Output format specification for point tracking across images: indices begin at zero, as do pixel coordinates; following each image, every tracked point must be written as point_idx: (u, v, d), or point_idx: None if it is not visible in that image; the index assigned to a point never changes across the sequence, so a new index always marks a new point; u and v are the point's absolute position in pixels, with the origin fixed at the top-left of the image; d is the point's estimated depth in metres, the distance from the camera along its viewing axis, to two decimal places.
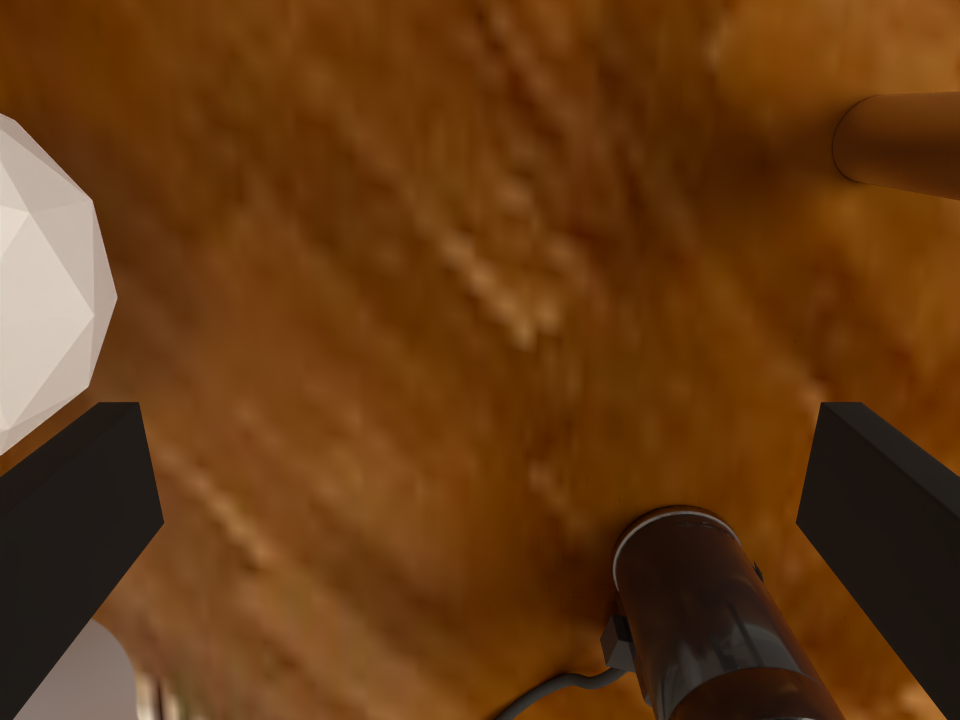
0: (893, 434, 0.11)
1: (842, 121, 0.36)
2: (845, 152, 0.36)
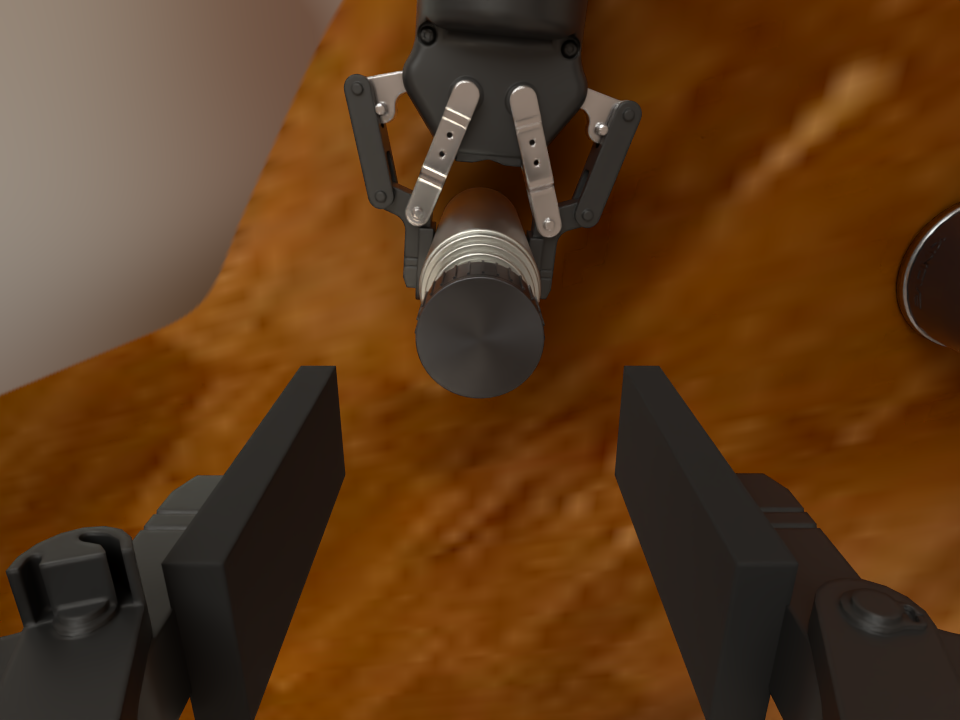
0: (667, 390, 0.13)
1: None
2: None
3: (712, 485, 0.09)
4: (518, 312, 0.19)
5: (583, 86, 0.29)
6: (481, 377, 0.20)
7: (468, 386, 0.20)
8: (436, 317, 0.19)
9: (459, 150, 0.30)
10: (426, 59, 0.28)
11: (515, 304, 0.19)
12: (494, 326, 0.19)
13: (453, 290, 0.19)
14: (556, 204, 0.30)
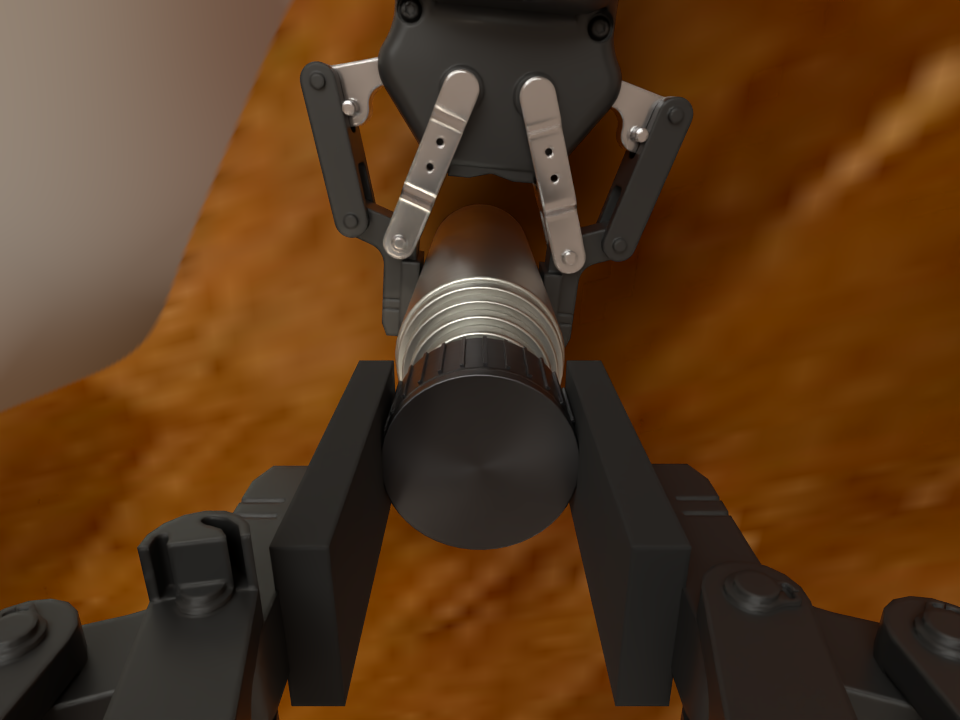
0: (603, 383, 0.13)
1: None
2: None
3: (626, 473, 0.10)
4: (540, 427, 0.12)
5: (616, 78, 0.22)
6: (482, 520, 0.13)
7: (462, 533, 0.13)
8: (411, 434, 0.12)
9: (453, 162, 0.23)
10: (408, 42, 0.21)
11: (536, 415, 0.12)
12: (503, 447, 0.12)
13: (438, 394, 0.12)
14: (579, 231, 0.23)
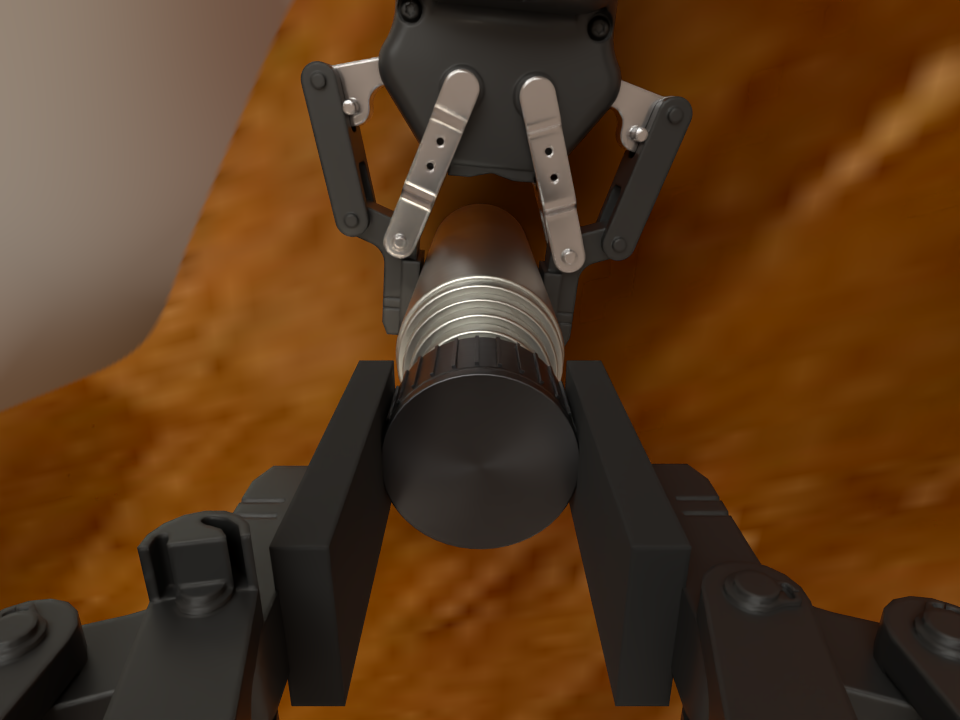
0: (603, 383, 0.13)
1: None
2: None
3: (625, 474, 0.10)
4: (442, 407, 0.12)
5: (616, 77, 0.22)
6: (543, 472, 0.13)
7: (554, 492, 0.13)
8: (435, 518, 0.13)
9: (453, 161, 0.23)
10: (409, 41, 0.21)
11: (429, 410, 0.12)
12: (460, 443, 0.12)
13: (397, 490, 0.13)
14: (579, 230, 0.24)
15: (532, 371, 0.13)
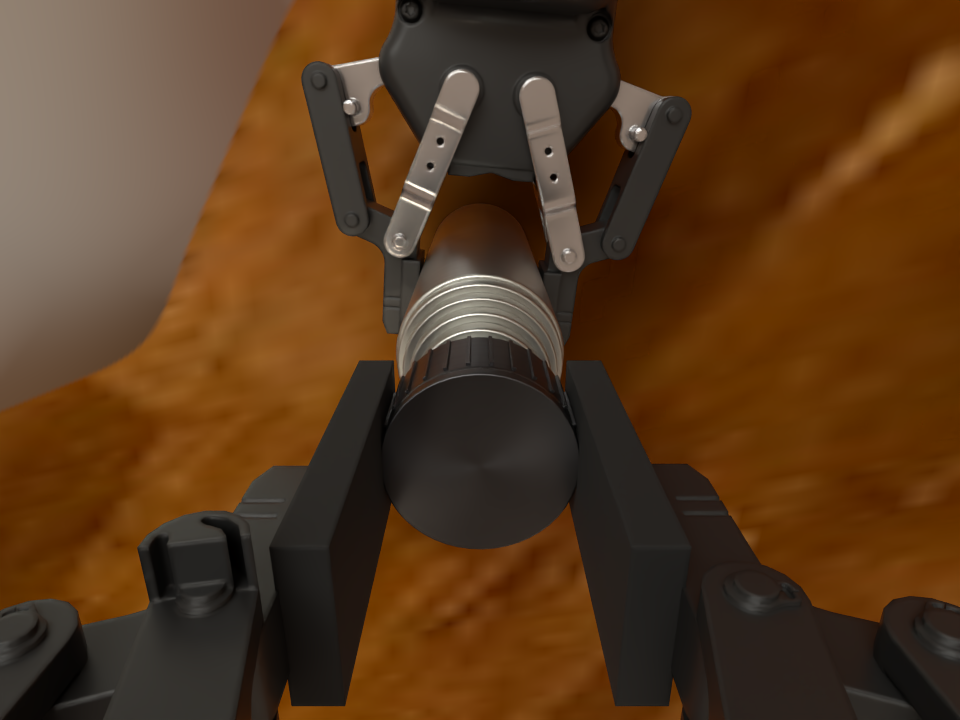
0: (603, 383, 0.13)
1: None
2: None
3: (625, 474, 0.10)
4: (411, 489, 0.13)
5: (615, 77, 0.22)
6: (496, 411, 0.12)
7: (521, 402, 0.12)
8: (532, 512, 0.13)
9: (453, 161, 0.23)
10: (409, 42, 0.22)
11: (413, 500, 0.13)
12: (451, 480, 0.13)
13: (495, 538, 0.13)
14: (578, 230, 0.24)
15: (405, 390, 0.13)
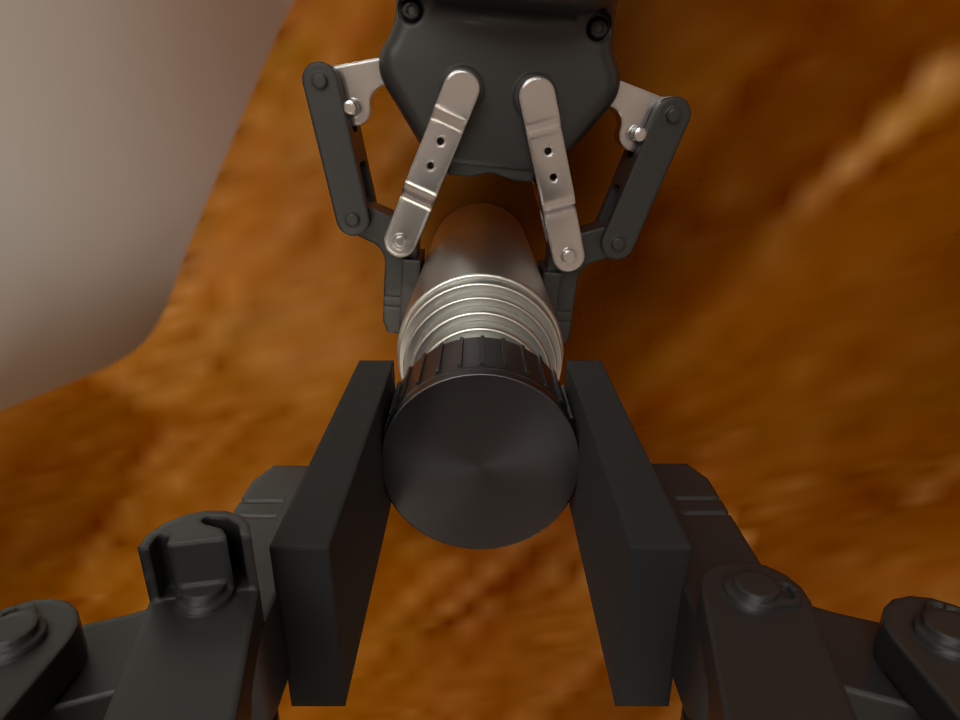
0: (603, 383, 0.13)
1: None
2: None
3: (626, 473, 0.10)
4: (495, 527, 0.13)
5: (615, 77, 0.22)
6: (420, 445, 0.12)
7: (414, 422, 0.12)
8: (542, 425, 0.12)
9: (453, 161, 0.23)
10: (409, 42, 0.22)
11: (508, 527, 0.13)
12: (491, 492, 0.13)
13: (569, 462, 0.12)
14: (578, 230, 0.24)
15: None
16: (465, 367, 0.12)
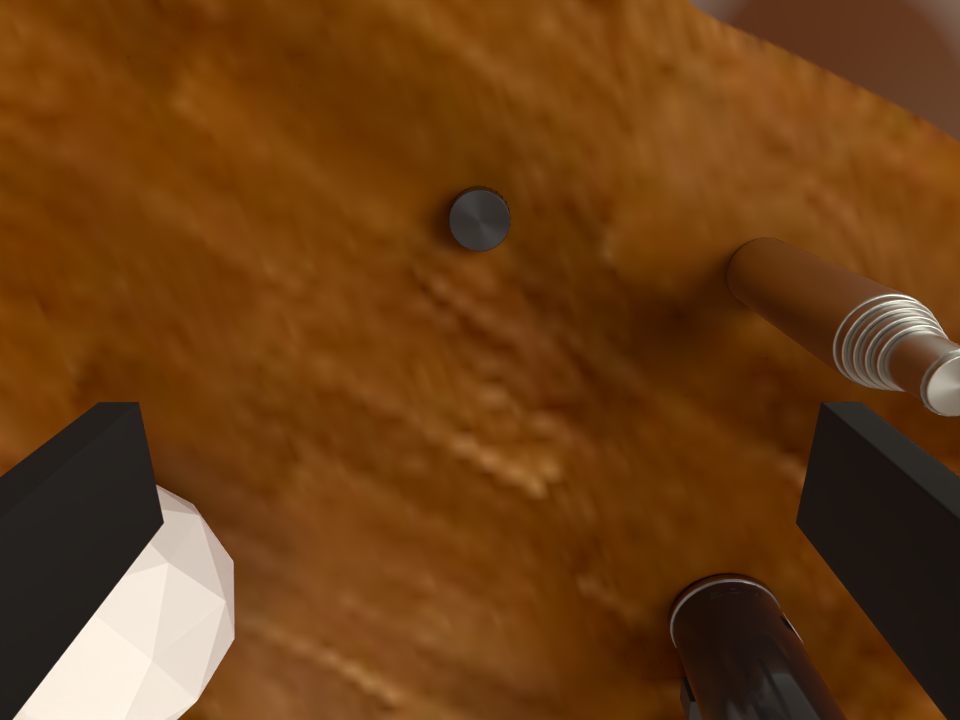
0: (893, 434, 0.11)
1: (728, 269, 0.44)
2: (737, 295, 0.44)
3: None
4: (502, 219, 0.41)
5: None
6: (470, 237, 0.42)
7: (462, 238, 0.42)
8: (468, 200, 0.41)
9: None
10: None
11: (502, 215, 0.41)
12: (489, 219, 0.41)
13: (482, 193, 0.41)
14: None
15: None
16: None
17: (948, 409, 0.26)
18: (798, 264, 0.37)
